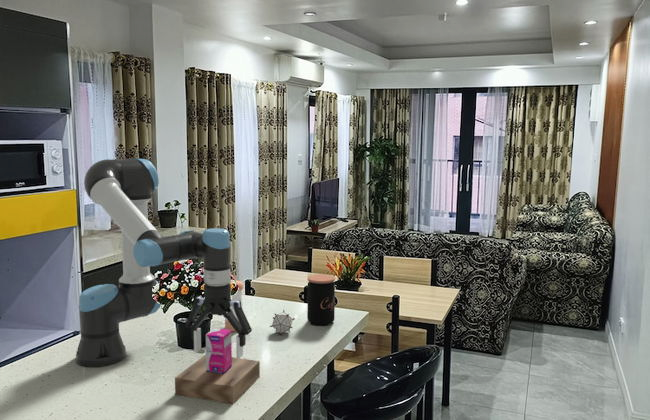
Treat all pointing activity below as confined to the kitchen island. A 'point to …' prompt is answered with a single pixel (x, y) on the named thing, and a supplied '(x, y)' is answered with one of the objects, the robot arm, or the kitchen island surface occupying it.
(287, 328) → the spiky geometric ball
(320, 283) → the coffee jar
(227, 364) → the supplement box
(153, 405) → the kitchen island surface
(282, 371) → the kitchen island surface
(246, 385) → the block
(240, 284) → the pepper shaker
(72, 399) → the kitchen island surface
